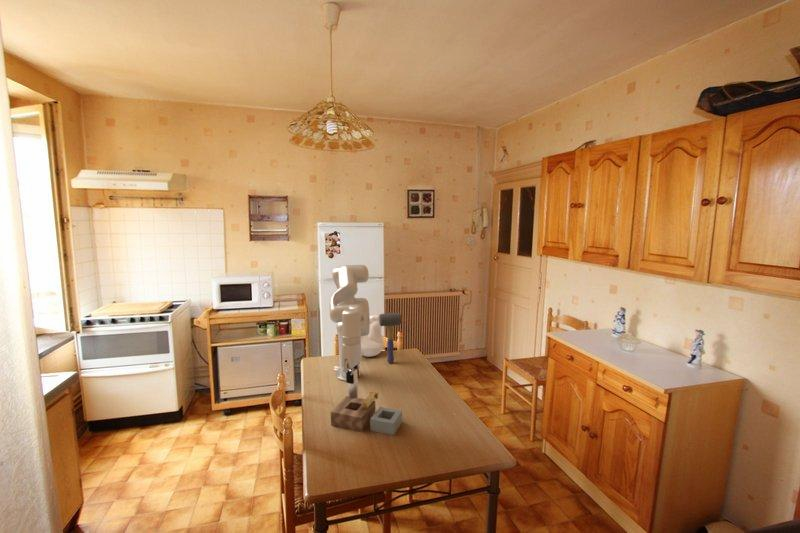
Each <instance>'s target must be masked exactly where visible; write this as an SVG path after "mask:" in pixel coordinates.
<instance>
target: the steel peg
mask: <svg viewBox="0 0 800 533" xmlns="http://www.w3.org/2000/svg"><path fill="white" fill-rule="evenodd" d="M348 370H350V371H351V369H348ZM353 374H354V383H353V384H350V383H347V386H348V387H347V389H348V394H347V396H348V397H349V398H350V399H355V398H359V386H358V384H359V382H358V381H359V380H358V379H359V378H358V375H357V368H353Z"/></svg>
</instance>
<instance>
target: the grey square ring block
mask: <svg viewBox="0 0 800 533" xmlns="http://www.w3.org/2000/svg"><path fill="white" fill-rule="evenodd" d="M375 411H376V412H375V414H374V415H373V416H372V417H371V419H370V422H369V426H370V429H369V430H370V431H371V432H376V433H381V434H384V435H390V436H395V434H396V432H398V431H397V430H398V429H399V427H400V426H401V424H402V423H403V410H400V409H395V408H389V407H383V406H379V407H378V408H377V410H375Z"/></svg>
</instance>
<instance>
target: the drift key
mask: <svg viewBox="0 0 800 533" xmlns="http://www.w3.org/2000/svg"><path fill="white" fill-rule="evenodd" d="M379 394H380V393H379V391H378V392H377V391H373V390H371V391H370V392H369V395H368V396H367V397H366V398H364V399H365V400H364V402H363V403H362V404H363V408H364V409H367V408H368V407H369V406H370V405H371V404H372V403H373V401H376V400H377V399H380V398H379Z"/></svg>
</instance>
